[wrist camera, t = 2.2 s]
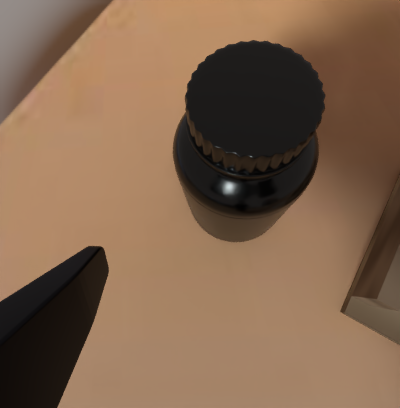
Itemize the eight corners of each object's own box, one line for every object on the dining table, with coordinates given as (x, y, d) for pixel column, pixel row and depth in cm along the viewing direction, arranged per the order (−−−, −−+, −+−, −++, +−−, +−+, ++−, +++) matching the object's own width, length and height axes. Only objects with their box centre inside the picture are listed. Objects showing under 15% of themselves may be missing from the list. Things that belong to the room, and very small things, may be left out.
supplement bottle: (288, 237, 20) (385, 180, 8) (194, 248, 20) (159, 206, 9) (272, 150, 22) (332, 3, 10) (186, 161, 22) (147, 30, 10)
